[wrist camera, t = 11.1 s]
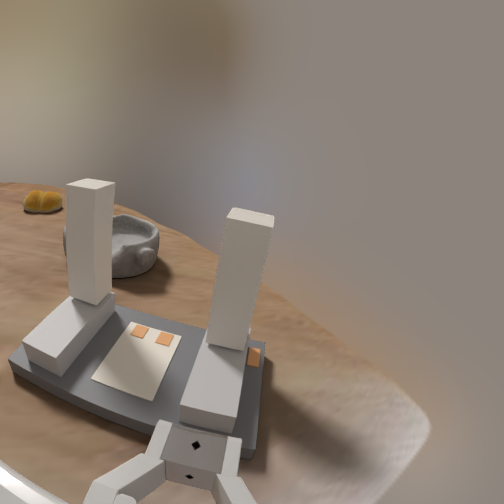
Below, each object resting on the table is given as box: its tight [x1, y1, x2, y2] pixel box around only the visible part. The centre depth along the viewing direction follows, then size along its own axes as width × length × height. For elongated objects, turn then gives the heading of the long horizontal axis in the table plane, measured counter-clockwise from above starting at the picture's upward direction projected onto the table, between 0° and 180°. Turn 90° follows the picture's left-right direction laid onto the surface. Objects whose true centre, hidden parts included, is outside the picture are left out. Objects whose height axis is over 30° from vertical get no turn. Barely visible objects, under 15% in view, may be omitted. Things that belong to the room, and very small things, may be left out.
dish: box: [63, 214, 159, 278], centre depth 39 cm, size 14×14×5 cm
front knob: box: [206, 207, 274, 351], centre depth 22 cm, size 3×3×10 cm
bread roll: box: [23, 190, 62, 213], centre depth 51 cm, size 8×9×4 cm
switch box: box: [8, 292, 265, 459], centre depth 22 cm, size 12×20×4 cm, turn 85°
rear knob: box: [65, 179, 115, 305], centre depth 23 cm, size 3×3×10 cm
